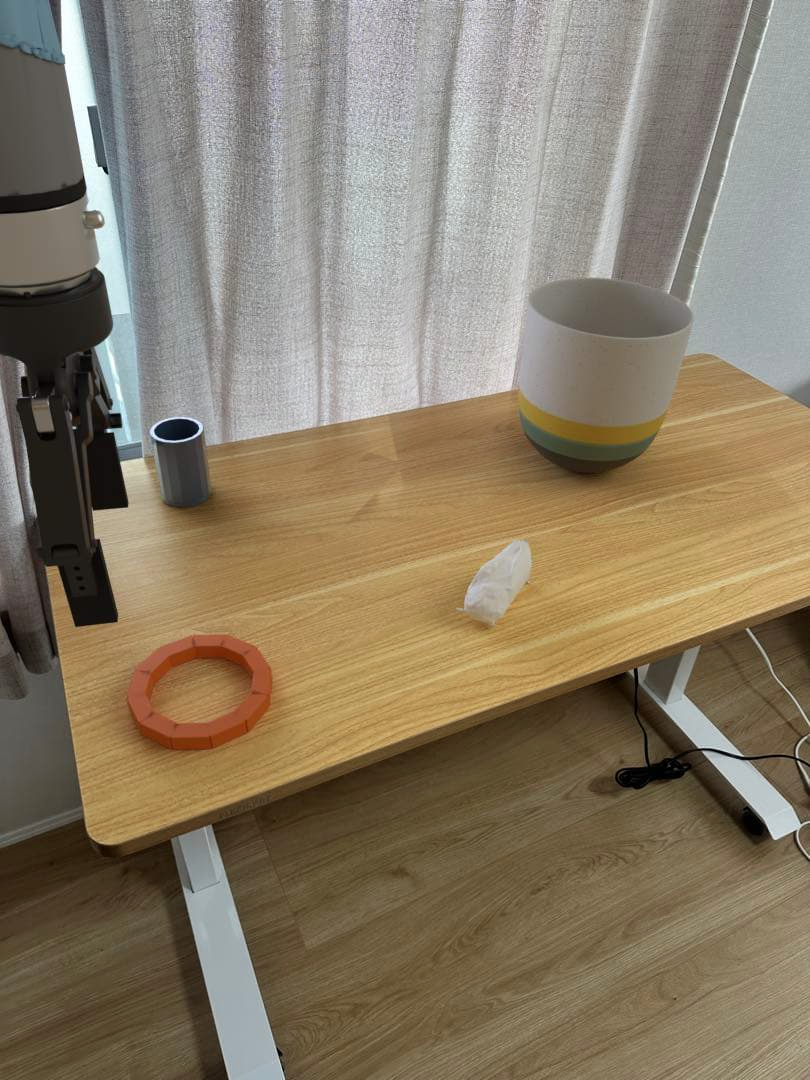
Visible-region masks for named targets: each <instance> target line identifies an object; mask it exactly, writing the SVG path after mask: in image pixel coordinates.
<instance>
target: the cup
mask: <svg viewBox="0 0 810 1080" xmlns="http://www.w3.org/2000/svg"><path fill="white" fill-rule="evenodd" d="M149 433H150V440H151V445H152V451H153V457H154V463H155V468H156V469H155V470H156V474H157V480H158V485H159V486H158V487H159V491H160V496H161V497H160V498H161V500H162V501H163V502H164V503H165V504H166V505H168V506H170V507H173V508H180V509H181V508H182V509H183V508H191V507H196V506H199V505H201V504H203V503H205V502H206V501H208V500H209V499H210V497H211V495H212V481H211V474H210V466H209V457H208V450H207V444H206V442H207V441H206V436H205V428H204V424H203V423H202V422H200V421H199V420H198V419H196V418H192V417H187V416H174V417H168V418H165V419H162V420H160V421H157V422H156V423H154V424H153V425H152V426H151V428H150V430H149Z"/></svg>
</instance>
